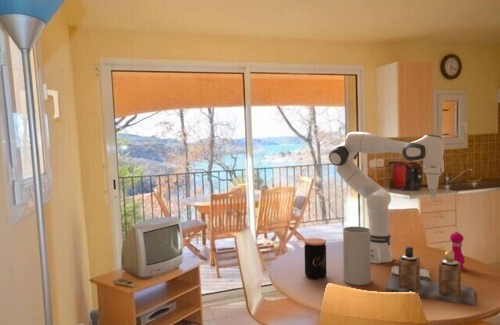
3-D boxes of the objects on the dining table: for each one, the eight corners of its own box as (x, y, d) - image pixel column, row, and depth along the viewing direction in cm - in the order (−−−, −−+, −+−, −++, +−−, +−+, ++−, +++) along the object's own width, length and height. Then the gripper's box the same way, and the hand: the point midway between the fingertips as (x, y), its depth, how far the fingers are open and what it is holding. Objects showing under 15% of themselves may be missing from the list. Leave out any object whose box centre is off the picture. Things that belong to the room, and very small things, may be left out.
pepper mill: (466, 271, 185) (467, 231, 184) (451, 270, 186) (451, 231, 185) (461, 266, 192) (461, 228, 191) (446, 265, 193) (446, 228, 192)
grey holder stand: (385, 291, 163) (385, 261, 162) (390, 279, 177) (390, 251, 176) (475, 305, 147) (475, 272, 146) (473, 291, 161) (473, 260, 160)
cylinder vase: (367, 287, 168) (366, 234, 166) (340, 283, 174) (339, 231, 173) (373, 278, 178) (373, 228, 177) (348, 274, 185) (347, 225, 183)
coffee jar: (313, 281, 177) (313, 244, 176) (300, 274, 186) (300, 239, 185) (331, 277, 182) (330, 241, 181) (317, 270, 191) (317, 236, 190)
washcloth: (391, 270, 191) (391, 264, 191) (429, 274, 184) (429, 268, 183) (390, 278, 180) (390, 271, 180) (431, 282, 173) (431, 276, 173)
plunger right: (441, 288, 157) (441, 252, 156) (441, 283, 162) (442, 249, 161) (457, 290, 154) (457, 254, 153) (457, 285, 159) (457, 250, 158)
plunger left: (401, 282, 165) (401, 248, 164) (402, 277, 170) (402, 245, 169) (416, 284, 162) (415, 250, 161) (417, 279, 167) (417, 246, 166)
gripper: (427, 166, 186) (427, 193, 187) (424, 170, 168) (424, 200, 169) (441, 166, 183) (441, 194, 184) (440, 170, 165) (440, 200, 166)
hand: (433, 197), depth 176 cm, fingers open, 8 cm apart
